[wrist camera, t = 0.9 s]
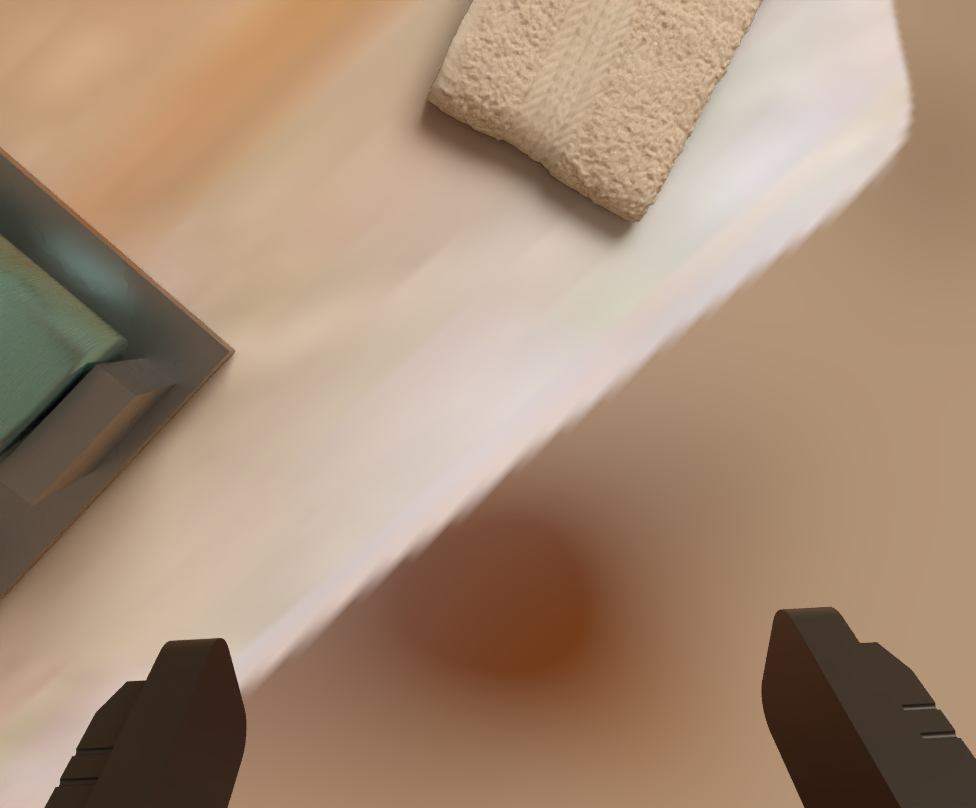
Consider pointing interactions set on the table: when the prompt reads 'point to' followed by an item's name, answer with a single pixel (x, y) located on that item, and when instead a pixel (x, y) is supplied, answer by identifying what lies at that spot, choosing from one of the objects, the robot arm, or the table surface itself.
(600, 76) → the washcloth
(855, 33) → the table surface
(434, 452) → the table surface
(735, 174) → the table surface
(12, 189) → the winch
